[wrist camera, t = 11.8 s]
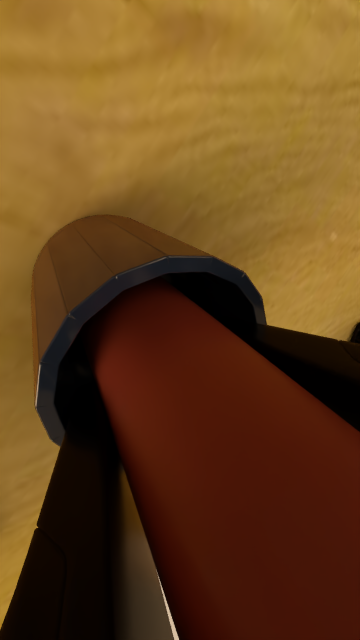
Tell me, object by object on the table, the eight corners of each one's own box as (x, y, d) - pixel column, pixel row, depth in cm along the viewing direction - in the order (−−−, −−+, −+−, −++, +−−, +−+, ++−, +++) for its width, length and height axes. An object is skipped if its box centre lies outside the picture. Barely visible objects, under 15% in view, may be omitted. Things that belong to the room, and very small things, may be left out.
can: (169, 206, 12) (284, 234, 7) (174, 328, 16) (252, 409, 10) (5, 222, 9) (-23, 289, 4) (56, 363, 13) (77, 498, 8)
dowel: (167, 255, 10) (574, 498, 3) (171, 336, 12) (406, 604, 5) (62, 273, 9) (309, 981, 1) (87, 363, 11) (233, 824, 3)
